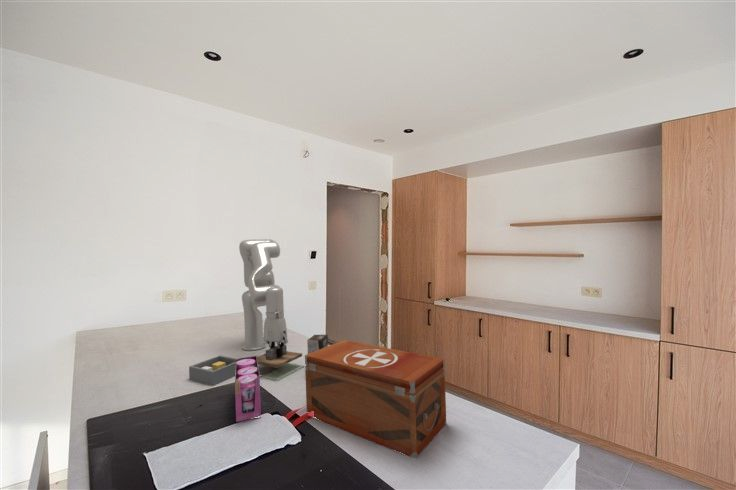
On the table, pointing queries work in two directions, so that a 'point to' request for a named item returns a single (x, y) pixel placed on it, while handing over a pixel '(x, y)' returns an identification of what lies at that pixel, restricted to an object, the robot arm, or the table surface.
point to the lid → (273, 361)
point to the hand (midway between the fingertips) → (276, 355)
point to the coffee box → (317, 343)
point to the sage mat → (282, 371)
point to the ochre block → (218, 365)
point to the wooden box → (378, 394)
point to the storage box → (213, 376)
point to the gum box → (247, 388)
